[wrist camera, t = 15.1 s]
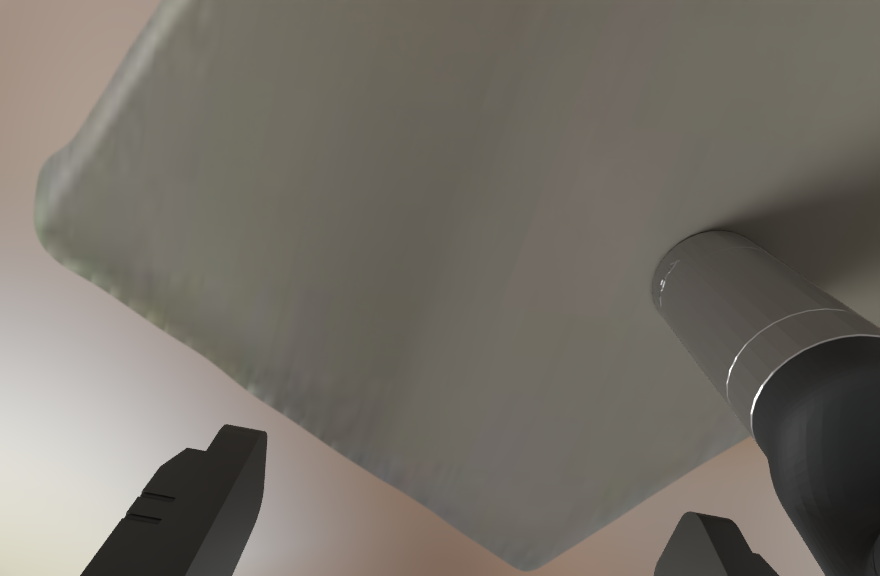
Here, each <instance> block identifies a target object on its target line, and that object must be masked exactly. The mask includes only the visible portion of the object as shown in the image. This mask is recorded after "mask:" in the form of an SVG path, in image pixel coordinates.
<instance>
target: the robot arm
mask: <svg viewBox="0 0 880 576" xmlns="http://www.w3.org/2000/svg"><path fill="white" fill-rule="evenodd" d="M652 294H653V299H654V303H655V305H656V307H657V309H658V311H659V312H660V314H661V315H662V316H663V318H664V319H665V320H666V322H667V323H668V325H669V326H670V327H671V329H672V330H673V331H674V333H675V334H676V336H677V337H678V338H679V340H680V341H681V342H682V344H683V345H684V346H685V348H686V349H687V350H688V352H689V353H690V354H691V356H692V357H693V358H694V360H695V361H696V363H697V364H698V365H699V367H700V368H701V369H702V371H703V372H704V373H705V375H706V376H707V377H708V379H709V380H710V381H711V383H712V384H713V385H714V387H715V388H716V389H717V391H718V392H719V393H720V395H721V396H722V397H723V399H724V400H725V401H726V403H727V404H728V406H729V407H730V408H731V410H732V411H733V412H734V414H735V415H736V416H737V418H738V419H739V420H740V421H741V423H742V424H743V425H744V427H745V428H746V429H747V431H748V432H749V433H750V435H751V436H752V437H753V439H754V440H755V441H756V443H757V444H758V446H759V447H760V448H761V450H762V451H763V452H764V454H765V455H766V457H767V459H768V463H769V468H770V474H771V478H772V482H773V485H774V489H775V491H776V494H777V496H778V498H779V500H780V502H781V504H782V506H783V508H784V509H785V511H786V513H787V514H788V516H789V518H790V519H791V521H792V522H793V524H794V526H795V527H796V529H797V530H798V532H799V534H800V535H801V537H802V538H803V540H804V541H805V543H806V545H807V546H808V548H809V550H810V551H811V553H812V554H813V556H814V558H815V559H816V561H817V563H818V564H819V566H820V567H821V569H822V571H823V572H824V574H825V576H880V328H879V327H877V326H876V325H874V324H873V323H872V322H870V321H868V320H867V319H865V318H864V317H862V316H861V315H859V314H858V313H856V312H855V311H853V310H852V309H850V308H849V307H847V306H846V305H844V304H843V303H841V302H840V301H838V300H837V299H836V298H834V297H833V296H831V295H830V294H828V293H827V292H825V291H824V290H822V289H821V288H819V287H818V286H816V285H815V284H813V283H812V282H810V281H809V280H807V279H806V278H804V277H803V276H801V275H800V274H799V273H797V272H796V271H794V270H793V269H791V268H790V267H788V266H787V265H785V264H784V263H782V262H781V261H779V260H778V259H776V258H775V257H774V256H772V255H771V254H769V253H768V252H766V251H765V250H763V249H762V248H760V247H759V246H758V245H756V244H755V243H753V242H752V241H750V240H749V239H747V238H746V237H743V236H741V235H739V234H737V233H733V232H728V231H709V232H705V233H700V234H697V235H695V236H692V237H690V238H687V239H686V240H684V241H683V242H681V243H679V244H678V245H676V246H675V247H674V248H673V249H672V250H671V251H670V252H669V253H668V254H667V255H666V256H665V257H664V259H663V260H662V261H661V263H660V265H659V267H658V268H657V270H656V272H655V276H654V280H653V287H652ZM266 449H267V433H266V432H265V431H260V430H254V429H249V428H244V427H238V426H233V425H228V424H226V425H224V426H223V427H222V428H221V429H220V430H219V432H218V434H217V435H216V437H215V438H214V440H213V441H212V443H211V444H210V446H209V447H208V449H207V451H202V450H197V449H191V448H186V449H185V450H184V451H182V452H180V453H179V454H178V455H176V456H175V457H173V458H172V459H171V460H169V461H168V462H166V463H165V464H163V465H162V466H161V467H160V468H159V469H158V470H157V472H156V473H155V474H154V476H153V477H152V479H151V480H150V481H149V483H148V484H147V485H146V487H145V488H144V489H143V491H142V494H141V496H140V497H137V499H136V500H135V502H134V503H133V505H132V506H131V507H130V508H129V510H128V511H127V513H126V516H125V518H122V519H121V521H120V522H119V523H118V525H117V526H116V527H115V529H114V530H113V532H112V533H111V534H110V536H109V537H108V538H107V540H106V541H105V543H104V544H103V545H102V547H101V548H100V549H99V551H98V552H97V553H96V555H95V556H94V557H93V559H92V560H91V562H90V563H89V564H88V566H87V567H86V568H85V570H84V571H83V572H82V574H81V575H80V576H232V575H233V572H234V570H235V568H236V565H237V563H238V561H239V559H240V556H241V554H242V552H243V550H244V548H245V545H246V543H247V541H248V539H249V536H250V534H251V532H252V530H253V527H254V525H255V523H256V520H257V517H258V514H259V511H260V507H261V503H262V498H263V490H264V479H265V463H266ZM654 576H779V575H778V574H777V573H776V572H775V571H774V570H773V569H772V567H771V566H770V565H769V564H768V563H767V562H766V561H765V560H764V559H763V558H762V557H761V556H760V555H759V554H756V553H752V551H751V549H750V548H749V546H748V544H747V542H746V541H745V539H744V537H743V535H742V533H741V531H740V530H739V528H738V527H737V525H736V524H735V523H734V522H733V521H732V520H730V519H727V518H722V517H717V516H711V515H706V514H700V513H695V512H687V513H685V514H684V515H683V516H682V518H681V519H680V521H679V523H678V525H677V527H676V529H675V531H674V532H673V534H672V536H671V538H670V540H669V542H668V544H667V545H666V547H665V549H664V551H663V553H662V555H661V557H660V558H659V560H658V562H657V565H656V568H655V572H654Z"/></svg>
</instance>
